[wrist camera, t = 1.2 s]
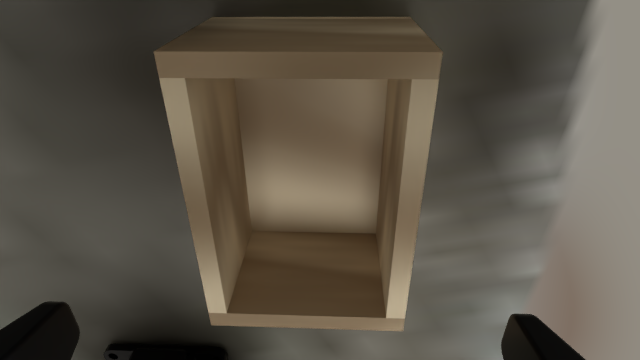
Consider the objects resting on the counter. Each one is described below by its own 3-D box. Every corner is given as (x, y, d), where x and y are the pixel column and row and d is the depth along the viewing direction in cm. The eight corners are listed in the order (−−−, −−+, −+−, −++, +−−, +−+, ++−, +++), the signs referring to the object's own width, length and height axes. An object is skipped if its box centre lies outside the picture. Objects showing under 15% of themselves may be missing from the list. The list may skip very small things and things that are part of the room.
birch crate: (387, 236, 18) (403, 331, 13) (242, 233, 18) (211, 325, 14) (409, 15, 13) (442, 51, 9) (213, 16, 13) (153, 51, 9)
